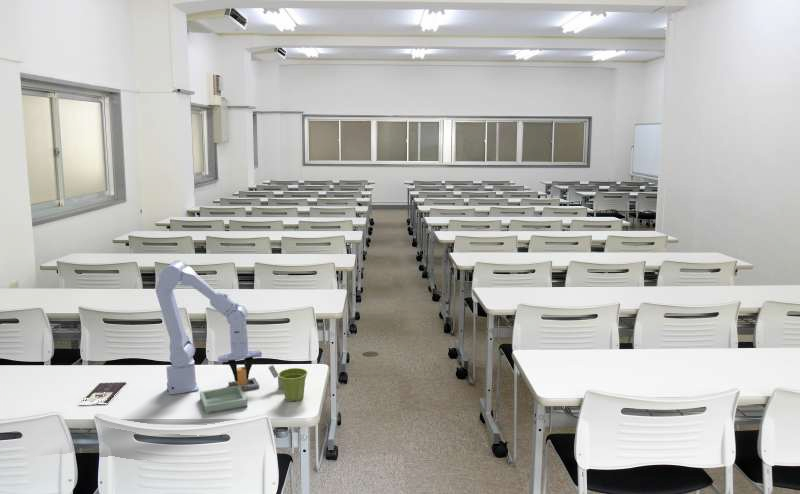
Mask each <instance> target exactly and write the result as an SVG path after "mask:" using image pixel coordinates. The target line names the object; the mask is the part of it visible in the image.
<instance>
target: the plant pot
mask: <svg viewBox="0 0 800 494" xmlns="http://www.w3.org/2000/svg"><path fill="white" fill-rule="evenodd" d="M278 376H279V377H280V380H281V382H282V386H283V388H282V390H283V395H284V399H285V400H286V401H288V402H294V401H296V402H298V401H302V400H303V398H304V397H305V386H306V385H305V384H306V378H307V376H308V371H307V369H305V368H301V367H293V368H286V369H283V370H281V371H280V372H278Z"/></svg>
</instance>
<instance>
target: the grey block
mask: <svg viewBox="0 0 800 494" xmlns="http://www.w3.org/2000/svg"><path fill="white" fill-rule="evenodd" d="M268 370H269V371H270V373H271V375H272V376H273V378H274V379H275V378H277V388H278V389H283V386H282V382H281V380H280V377H279V376H278V374H279V372H277V370H276V368H275V366H274V364H272V365H269V366H268Z"/></svg>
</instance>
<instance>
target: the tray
mask: <svg viewBox="0 0 800 494" xmlns="http://www.w3.org/2000/svg"><path fill="white" fill-rule="evenodd" d="M199 397H200V398H199V399H200V402H201V406H202V407H203V410H204V413H205V415H209V414H214V413H221V412H227V411H231V410H237V409H243V408H247V407H248V398H247V397H246V395H245V393H244V391H242V389H241V387H240V385H236V386H230V387H229V386H225V387H221V388H213V389H207V390H202V391H199Z"/></svg>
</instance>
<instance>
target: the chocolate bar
mask: <svg viewBox="0 0 800 494" xmlns="http://www.w3.org/2000/svg"><path fill="white" fill-rule="evenodd" d="M126 384H127V382H126V381H124V382H122V381H121V382H119V381H118V382H100V383H98V385H96V386H95V387H94V389H93V390H91V391H90V392H89V393H88V394H87V395H86V396H85V398H89V399H88V400H87V399H86V400H85V401H90V402H93V401H95V400H96V399H103V398H105V399H104V400H103V401H102V400H101V401H100V402H99V400H98V402H97V403H96V404H98V403H108V402H109V401H110V400H111V399H112V398H113V397H114V395H115V394H116V393H117V392H118V391H119V390H120V389H121V388H122V387H123V386H124V387H125V386H126ZM124 387H123V388H124ZM123 388H122V389H123ZM122 389H121V390H122ZM121 390H120V391H121ZM120 391H119V392H120ZM104 392H105V393H104ZM119 392H118V393H119ZM98 393H99V394H98ZM118 393H117V394H118ZM92 394H93V395H92ZM117 394H116V395H117ZM103 395H104V396H103ZM116 395H115V396H116ZM97 396H98V397H97ZM94 397H95V398H94ZM90 398H91V399H90ZM114 398H115V397H114ZM114 398H113V399H114ZM106 399H107V400H106ZM113 399H112V400H113ZM112 400H111V401H112ZM82 401H84V399H82ZM111 401H110V402H111ZM110 402H109V403H110ZM109 403H108V404H109ZM94 404H95V403H94Z"/></svg>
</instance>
